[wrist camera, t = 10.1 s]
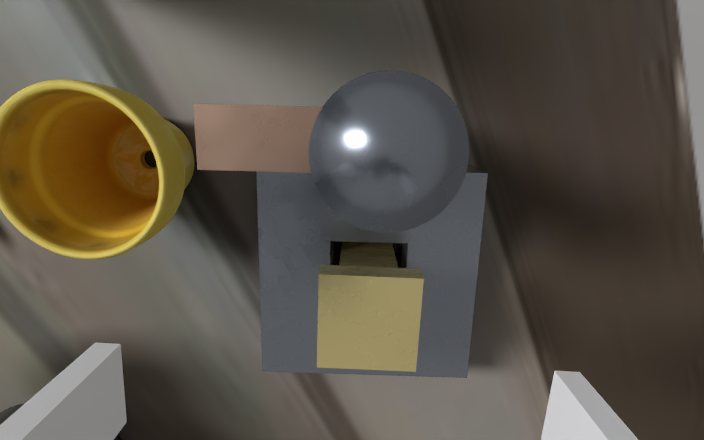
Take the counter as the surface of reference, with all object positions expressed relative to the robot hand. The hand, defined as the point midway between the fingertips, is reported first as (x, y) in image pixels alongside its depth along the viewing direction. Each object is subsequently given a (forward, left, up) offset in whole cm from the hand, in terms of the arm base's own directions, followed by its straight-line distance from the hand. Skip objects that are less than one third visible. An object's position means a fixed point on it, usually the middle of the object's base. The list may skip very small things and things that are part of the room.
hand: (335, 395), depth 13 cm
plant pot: (-16, +5, -22) cm, 28 cm away
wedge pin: (+1, -4, -22) cm, 22 cm away
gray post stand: (+1, -1, -22) cm, 22 cm away
